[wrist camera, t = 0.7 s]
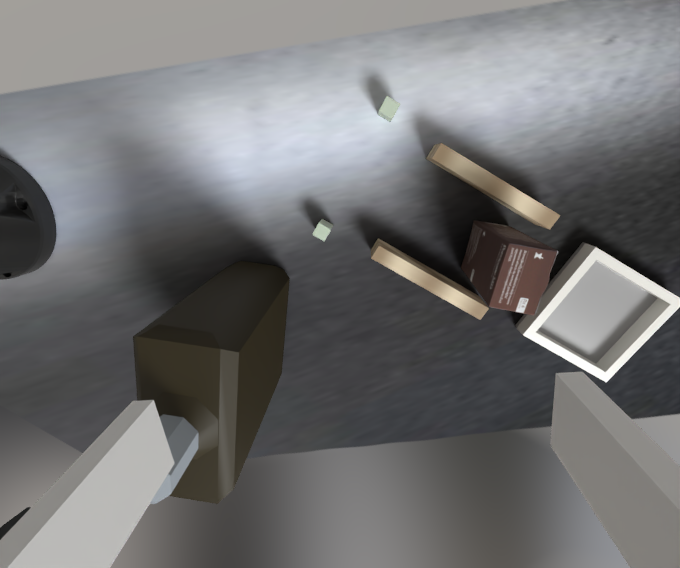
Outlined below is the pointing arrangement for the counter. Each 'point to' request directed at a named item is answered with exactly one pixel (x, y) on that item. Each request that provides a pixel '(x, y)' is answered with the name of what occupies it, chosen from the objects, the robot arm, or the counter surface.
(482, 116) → the counter surface
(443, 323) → the counter surface
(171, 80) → the counter surface
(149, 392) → the bottle
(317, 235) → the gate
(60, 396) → the counter surface
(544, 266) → the box
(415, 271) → the channel
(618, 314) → the tray
